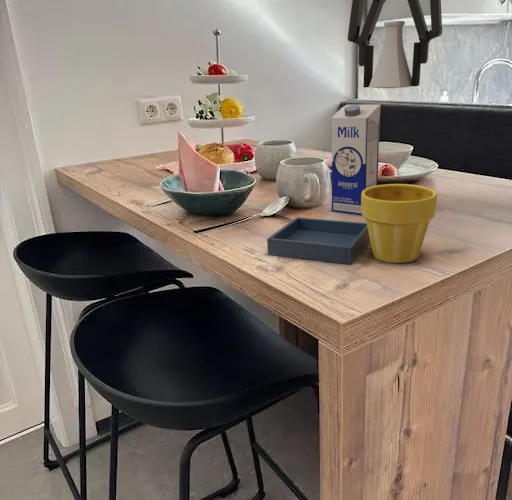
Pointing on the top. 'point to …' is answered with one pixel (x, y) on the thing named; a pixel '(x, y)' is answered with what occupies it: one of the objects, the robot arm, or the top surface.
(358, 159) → the milk carton
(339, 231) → the tray
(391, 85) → the flask
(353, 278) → the top surface
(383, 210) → the flower pot
